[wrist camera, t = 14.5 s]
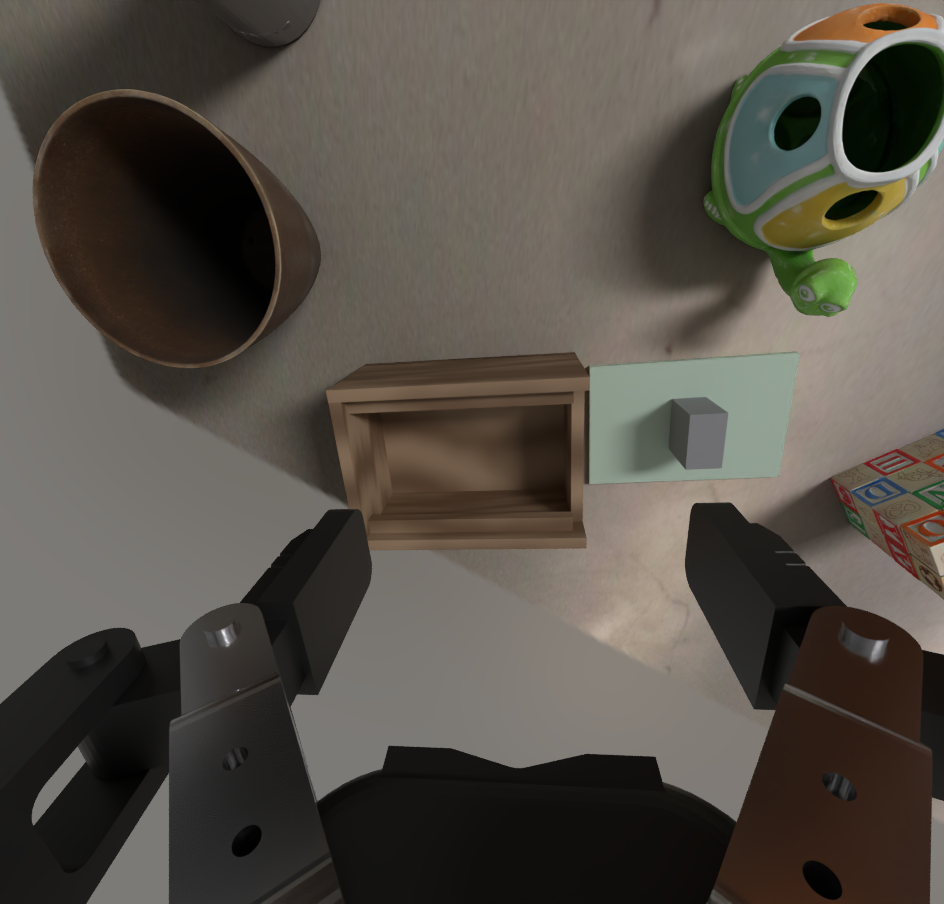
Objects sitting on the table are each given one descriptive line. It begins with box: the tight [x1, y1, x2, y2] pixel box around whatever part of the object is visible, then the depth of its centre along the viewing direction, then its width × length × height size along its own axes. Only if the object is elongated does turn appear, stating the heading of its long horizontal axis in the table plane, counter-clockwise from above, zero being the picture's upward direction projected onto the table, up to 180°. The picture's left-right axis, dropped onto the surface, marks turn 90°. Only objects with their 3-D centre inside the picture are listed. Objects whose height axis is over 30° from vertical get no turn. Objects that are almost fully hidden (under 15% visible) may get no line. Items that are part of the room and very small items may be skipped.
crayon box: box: [326, 352, 590, 550], centre depth 42 cm, size 15×20×10 cm
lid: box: [589, 352, 800, 484], centre depth 42 cm, size 12×18×6 cm, turn 95°
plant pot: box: [33, 89, 321, 368], centre depth 35 cm, size 15×15×16 cm
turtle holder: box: [703, 3, 944, 317], centre depth 31 cm, size 12×18×12 cm
